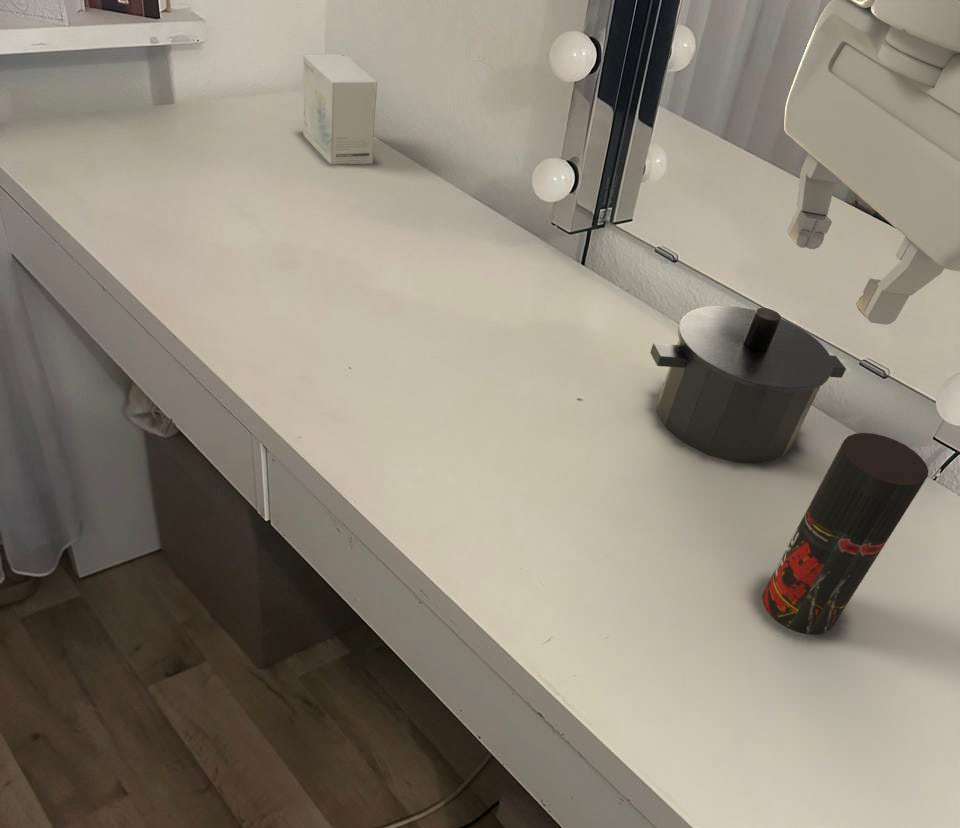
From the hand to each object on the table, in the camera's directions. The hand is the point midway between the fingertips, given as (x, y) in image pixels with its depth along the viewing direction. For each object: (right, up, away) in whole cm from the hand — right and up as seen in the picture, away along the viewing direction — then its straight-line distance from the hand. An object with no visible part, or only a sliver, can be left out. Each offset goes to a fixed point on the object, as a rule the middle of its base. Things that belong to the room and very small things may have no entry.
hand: (834, 278), depth 53 cm
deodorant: (+4, -19, +20) cm, 28 cm away
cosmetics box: (-40, +45, +71) cm, 93 cm away
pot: (+3, 0, +37) cm, 38 cm away
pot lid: (+5, +6, +31) cm, 32 cm away
